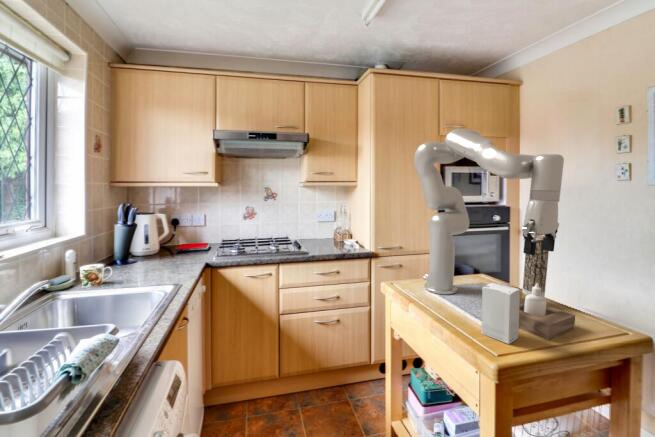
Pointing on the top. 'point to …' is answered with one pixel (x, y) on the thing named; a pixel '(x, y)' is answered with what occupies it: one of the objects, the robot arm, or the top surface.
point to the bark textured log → (535, 269)
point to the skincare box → (500, 312)
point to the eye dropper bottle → (535, 302)
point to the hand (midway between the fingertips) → (538, 252)
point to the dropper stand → (546, 322)
